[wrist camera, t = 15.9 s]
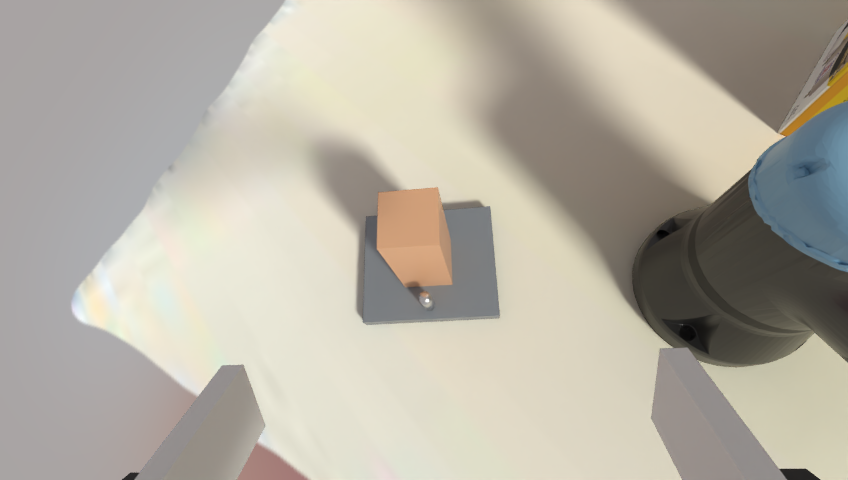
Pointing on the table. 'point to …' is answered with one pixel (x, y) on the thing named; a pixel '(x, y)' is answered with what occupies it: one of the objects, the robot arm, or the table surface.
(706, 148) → the table surface
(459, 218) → the pin tray
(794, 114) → the packaging box
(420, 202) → the case
